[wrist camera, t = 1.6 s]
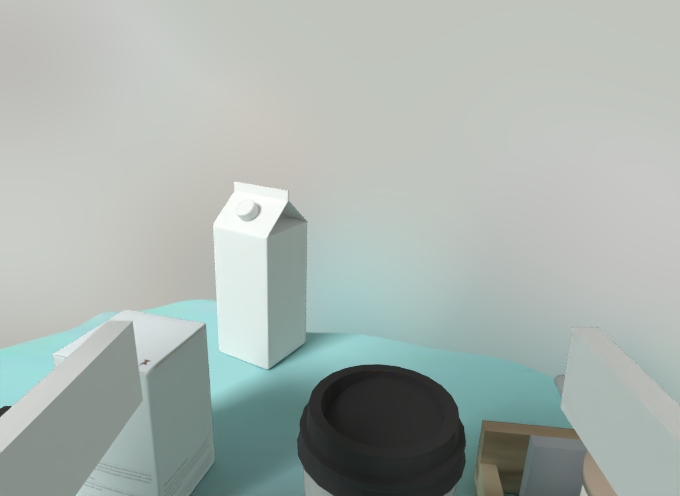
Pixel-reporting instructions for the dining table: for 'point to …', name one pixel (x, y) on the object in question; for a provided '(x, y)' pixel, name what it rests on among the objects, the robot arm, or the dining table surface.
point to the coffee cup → (380, 435)
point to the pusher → (553, 463)
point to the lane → (507, 454)
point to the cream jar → (594, 479)
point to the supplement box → (160, 413)
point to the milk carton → (260, 275)
